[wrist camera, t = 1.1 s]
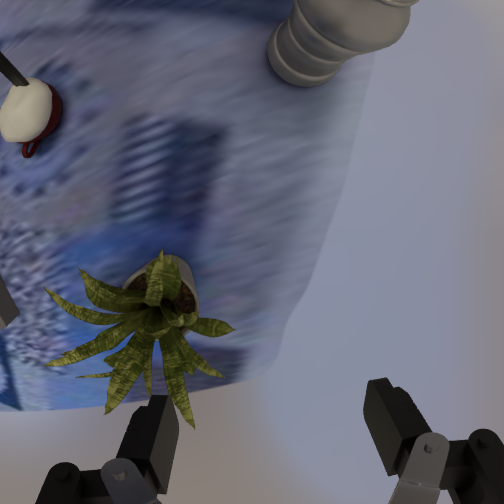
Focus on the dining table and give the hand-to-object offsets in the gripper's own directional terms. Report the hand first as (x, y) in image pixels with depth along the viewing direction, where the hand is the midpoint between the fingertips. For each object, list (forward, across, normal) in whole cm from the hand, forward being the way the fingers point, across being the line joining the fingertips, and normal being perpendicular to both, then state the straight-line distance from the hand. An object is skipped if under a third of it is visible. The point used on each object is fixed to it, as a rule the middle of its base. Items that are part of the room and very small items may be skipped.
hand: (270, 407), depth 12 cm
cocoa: (+19, +20, -18) cm, 33 cm away
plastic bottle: (+21, -5, -20) cm, 29 cm away
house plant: (+21, +9, 0) cm, 23 cm away
